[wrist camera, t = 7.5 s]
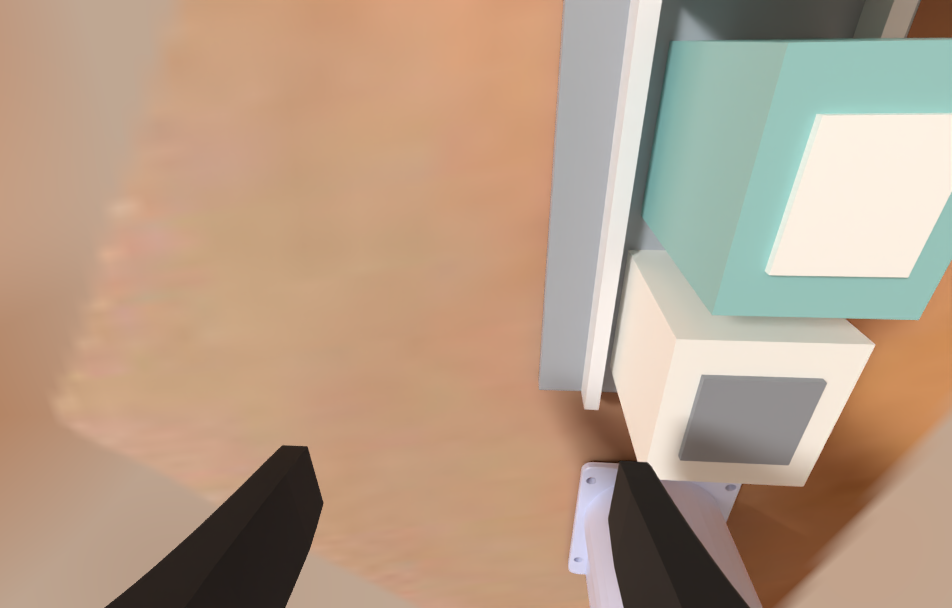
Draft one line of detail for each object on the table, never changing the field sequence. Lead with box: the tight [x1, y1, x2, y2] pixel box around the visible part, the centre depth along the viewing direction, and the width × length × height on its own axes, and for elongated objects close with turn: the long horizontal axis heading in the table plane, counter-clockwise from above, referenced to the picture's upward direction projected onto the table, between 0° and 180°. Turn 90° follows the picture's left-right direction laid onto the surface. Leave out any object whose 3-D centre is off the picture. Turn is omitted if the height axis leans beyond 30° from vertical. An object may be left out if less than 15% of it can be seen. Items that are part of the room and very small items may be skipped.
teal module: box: [641, 38, 952, 320], centre depth 12 cm, size 6×4×7 cm
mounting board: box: [539, 0, 921, 487], centre depth 13 cm, size 22×10×7 cm, turn 1°
